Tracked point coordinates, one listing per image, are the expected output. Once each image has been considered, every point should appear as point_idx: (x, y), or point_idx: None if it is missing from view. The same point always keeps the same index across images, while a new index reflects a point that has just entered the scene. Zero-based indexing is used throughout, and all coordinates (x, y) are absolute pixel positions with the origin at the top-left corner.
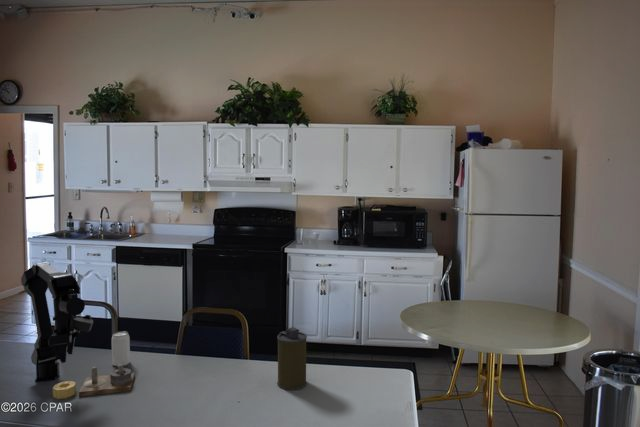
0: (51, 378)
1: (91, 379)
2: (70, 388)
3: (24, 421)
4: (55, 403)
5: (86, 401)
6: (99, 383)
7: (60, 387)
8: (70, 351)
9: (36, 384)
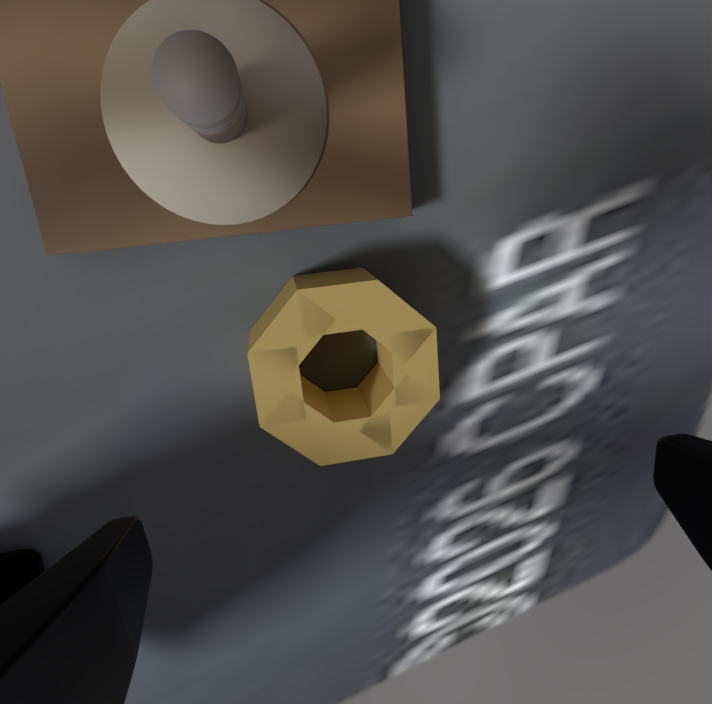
0: (33, 579)
1: (115, 181)
2: (402, 300)
3: None
4: (490, 357)
5: (511, 112)
6: (241, 49)
7: (324, 409)
8: (125, 573)
9: None
